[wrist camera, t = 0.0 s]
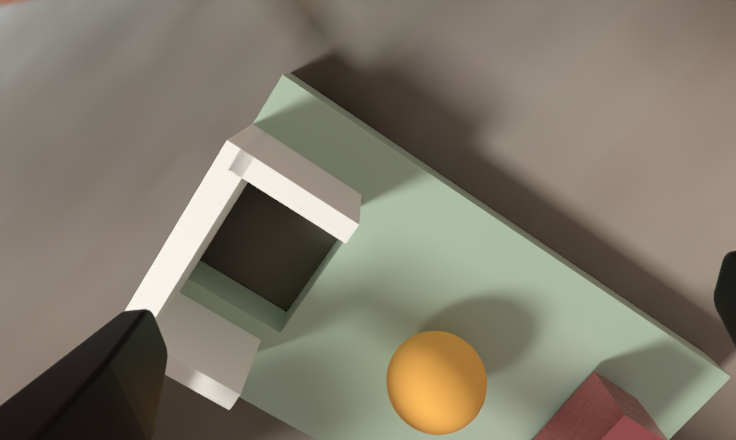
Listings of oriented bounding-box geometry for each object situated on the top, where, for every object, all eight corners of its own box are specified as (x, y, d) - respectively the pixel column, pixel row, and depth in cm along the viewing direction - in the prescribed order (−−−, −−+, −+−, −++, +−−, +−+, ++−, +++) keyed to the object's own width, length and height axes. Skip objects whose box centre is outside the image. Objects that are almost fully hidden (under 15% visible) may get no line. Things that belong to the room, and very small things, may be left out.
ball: (441, 410, 25) (453, 475, 21) (367, 366, 24) (366, 424, 21) (495, 344, 24) (519, 399, 20) (420, 296, 24) (429, 344, 20)
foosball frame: (531, 533, 30) (586, 699, 22) (143, 312, 26) (50, 420, 18) (705, 353, 26) (838, 474, 19) (290, 72, 23) (249, 83, 15)
